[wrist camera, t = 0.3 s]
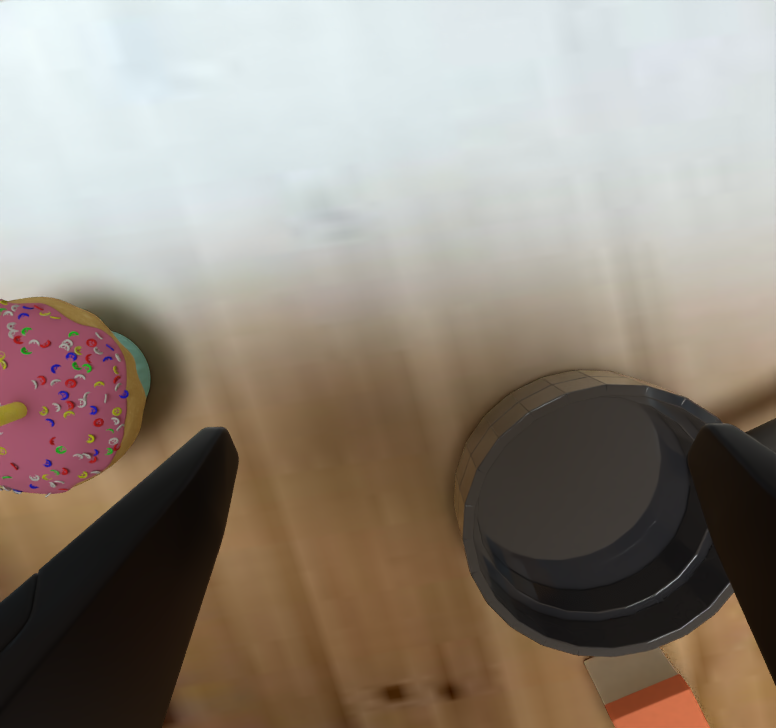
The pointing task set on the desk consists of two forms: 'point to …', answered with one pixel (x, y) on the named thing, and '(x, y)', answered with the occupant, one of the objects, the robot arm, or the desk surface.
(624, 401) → the pan
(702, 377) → the desk surface
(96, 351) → the cupcake
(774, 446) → the pan handle
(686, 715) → the sushi
